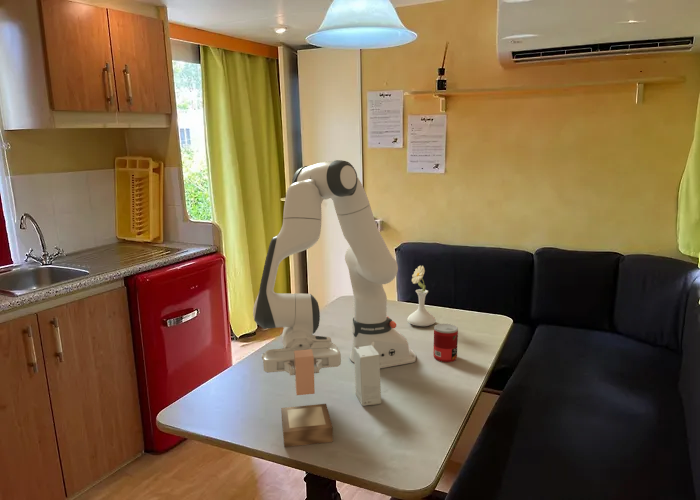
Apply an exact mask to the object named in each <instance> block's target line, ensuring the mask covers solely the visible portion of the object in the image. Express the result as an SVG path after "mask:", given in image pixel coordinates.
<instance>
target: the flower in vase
mask: <svg viewBox="0 0 700 500" xmlns="http://www.w3.org/2000/svg"><path fill="white" fill-rule="evenodd" d="M414 270H415V271H413V274H412V275H411V276H412V278H411V282H412V284H414V285H416V284H418V286H419V287H420V288H421V289H420V288H419V289H416V290H415V293H416V294H417V297H418V298H417V299H418V307H417V309H416V310H415V311H413V312H412V313H410V314H409V315H408V317H407V322H408V323H409V324H411V325H413V326H415V327H428V326H432V325H434V324H435V323H436V318H435V317H434V315H433V314H431V313H430V312H429V311H428V310H427V309H426V306H425V303H426V302H425V301H426V296H427V294H428V293H429V290H427V289H426V285H425V281H424V279H423V277H424V275H425V272H426V270H425V267H424V265H419V266H417V268H415V269H414ZM421 281H422V282H423V283H422V282H421Z"/></svg>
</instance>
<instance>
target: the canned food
mask: <svg viewBox="0 0 700 500" xmlns="http://www.w3.org/2000/svg"><path fill="white" fill-rule="evenodd" d="M458 335H459V329H458V326H456V325H455V324H451V323H438V324H436V325H434V328H433V357H434V359H435V360H436V361H438V362H441V361H442V363H451V362H455V361H456V360H457V358H458V337H459V336H458Z"/></svg>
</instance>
